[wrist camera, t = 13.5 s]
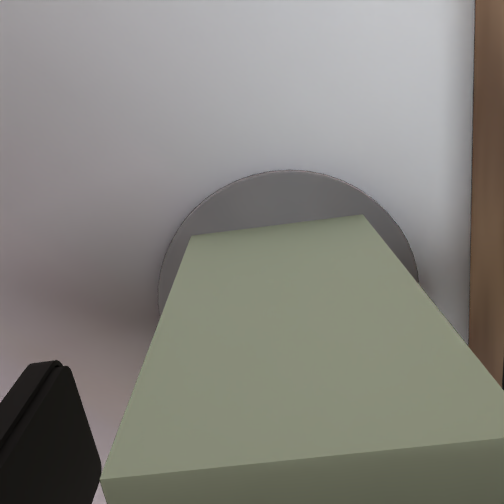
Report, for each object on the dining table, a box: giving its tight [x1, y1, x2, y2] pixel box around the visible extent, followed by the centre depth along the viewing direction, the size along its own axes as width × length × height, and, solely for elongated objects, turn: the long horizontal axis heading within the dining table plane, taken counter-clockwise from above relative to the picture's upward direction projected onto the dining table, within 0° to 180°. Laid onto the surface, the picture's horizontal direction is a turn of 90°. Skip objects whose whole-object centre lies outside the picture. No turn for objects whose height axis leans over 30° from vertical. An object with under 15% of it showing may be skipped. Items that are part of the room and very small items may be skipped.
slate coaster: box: [158, 170, 419, 317], centre depth 15 cm, size 8×8×1 cm
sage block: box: [99, 214, 504, 504], centre depth 11 cm, size 5×5×9 cm
